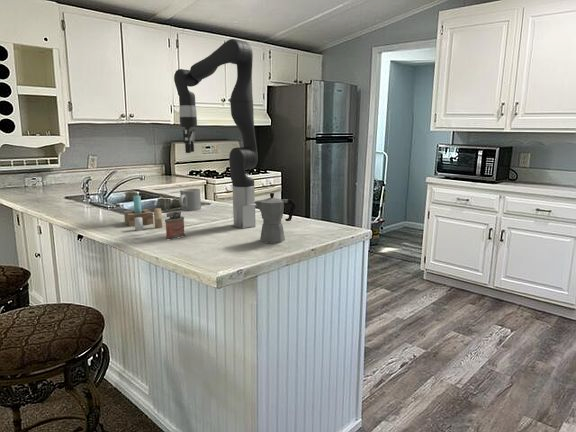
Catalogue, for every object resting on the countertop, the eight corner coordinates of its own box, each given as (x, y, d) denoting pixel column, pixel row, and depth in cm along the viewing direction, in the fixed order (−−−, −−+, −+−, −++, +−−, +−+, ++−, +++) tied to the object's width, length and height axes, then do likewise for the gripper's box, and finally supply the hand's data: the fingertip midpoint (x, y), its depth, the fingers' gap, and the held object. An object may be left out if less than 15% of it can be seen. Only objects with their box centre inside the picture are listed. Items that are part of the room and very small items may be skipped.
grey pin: (143, 230, 178) (143, 218, 177) (136, 231, 176) (135, 219, 175) (142, 228, 180) (141, 217, 179) (134, 229, 179) (133, 217, 178)
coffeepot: (253, 243, 157) (252, 195, 153) (255, 237, 166) (255, 190, 162) (296, 243, 156) (296, 194, 153) (295, 237, 166) (295, 190, 162)
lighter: (181, 234, 170) (180, 209, 168) (187, 235, 168) (185, 210, 166) (164, 238, 164) (162, 213, 162) (169, 240, 162) (168, 214, 160)
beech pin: (163, 227, 182) (161, 209, 180) (156, 228, 180) (154, 209, 179) (161, 226, 184) (159, 207, 183) (154, 227, 183) (152, 208, 181)
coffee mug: (191, 206, 229) (190, 187, 227) (205, 208, 223) (204, 189, 221) (171, 210, 218) (170, 191, 216) (185, 212, 212) (184, 192, 210)
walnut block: (153, 223, 189) (152, 212, 188) (129, 226, 184) (128, 215, 183) (147, 219, 197) (146, 209, 196) (124, 222, 192) (123, 211, 191)
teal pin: (143, 223, 190) (141, 196, 188) (136, 224, 189) (134, 197, 186) (141, 222, 193) (139, 195, 190) (134, 222, 191) (132, 196, 189)
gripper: (193, 115, 187) (195, 153, 190) (199, 116, 201) (200, 151, 204) (176, 115, 187) (178, 153, 190) (182, 116, 201) (184, 151, 204)
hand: (190, 152), depth 197 cm, fingers open, 8 cm apart
